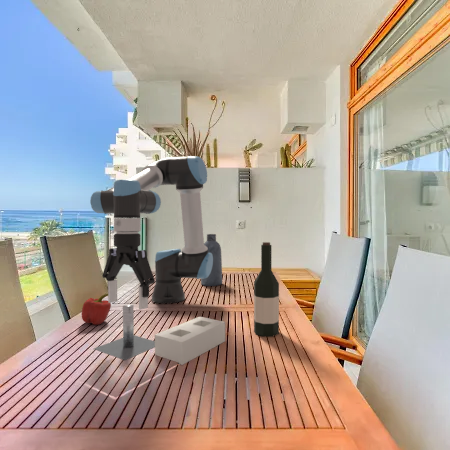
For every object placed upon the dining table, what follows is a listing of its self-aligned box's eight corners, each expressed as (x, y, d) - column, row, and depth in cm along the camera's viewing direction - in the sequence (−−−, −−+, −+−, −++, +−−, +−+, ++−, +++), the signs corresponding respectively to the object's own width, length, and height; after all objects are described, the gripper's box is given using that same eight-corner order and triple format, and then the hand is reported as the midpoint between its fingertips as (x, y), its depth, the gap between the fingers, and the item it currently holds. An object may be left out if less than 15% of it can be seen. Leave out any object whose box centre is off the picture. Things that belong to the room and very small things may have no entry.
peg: (121, 346, 99) (120, 306, 99) (129, 343, 101) (128, 303, 101) (127, 348, 97) (127, 307, 97) (136, 345, 100) (135, 305, 99)
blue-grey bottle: (226, 283, 192) (226, 234, 191) (214, 287, 182) (214, 235, 181) (209, 281, 199) (208, 233, 198) (196, 284, 188) (196, 234, 188)
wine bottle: (280, 329, 114) (281, 241, 113) (276, 338, 106) (276, 243, 105) (257, 327, 117) (257, 241, 116) (250, 335, 109) (250, 243, 108)
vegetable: (105, 316, 130) (105, 290, 130) (118, 322, 123) (117, 295, 122) (76, 322, 122) (76, 295, 122) (88, 329, 115) (87, 300, 115)
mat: (93, 349, 97) (93, 348, 97) (131, 335, 109) (131, 334, 109) (125, 361, 90) (125, 360, 90) (162, 344, 101) (162, 343, 101)
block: (182, 365, 87) (181, 342, 87) (154, 356, 93) (154, 334, 93) (225, 341, 104) (225, 321, 104) (199, 334, 110) (199, 316, 109)
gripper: (90, 232, 102) (90, 301, 103) (147, 234, 88) (147, 314, 89) (111, 231, 108) (111, 297, 109) (167, 233, 94) (167, 308, 95)
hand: (127, 305), depth 99 cm, fingers open, 13 cm apart
